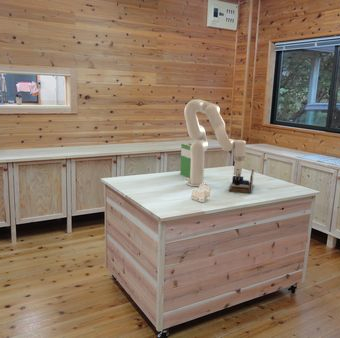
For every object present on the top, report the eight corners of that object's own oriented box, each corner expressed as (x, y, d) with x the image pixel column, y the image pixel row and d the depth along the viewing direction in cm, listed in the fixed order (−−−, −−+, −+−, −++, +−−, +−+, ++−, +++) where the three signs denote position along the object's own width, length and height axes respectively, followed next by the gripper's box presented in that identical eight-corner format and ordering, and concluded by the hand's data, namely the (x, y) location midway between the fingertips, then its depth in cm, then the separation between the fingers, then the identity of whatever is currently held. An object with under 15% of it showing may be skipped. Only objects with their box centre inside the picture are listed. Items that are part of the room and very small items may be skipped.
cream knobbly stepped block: (208, 204, 232) (214, 188, 233) (202, 202, 228) (208, 185, 229) (195, 199, 241) (201, 183, 242) (188, 197, 237) (194, 181, 238)
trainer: (231, 185, 260) (231, 177, 258) (232, 184, 264) (232, 175, 263) (249, 187, 257) (249, 178, 256) (249, 185, 262) (250, 177, 260)
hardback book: (180, 173, 303) (181, 144, 298) (188, 172, 307) (189, 143, 301) (192, 178, 288) (193, 147, 283) (200, 177, 292) (201, 147, 287)
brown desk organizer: (229, 191, 255) (230, 174, 253) (233, 183, 278) (234, 167, 275) (250, 193, 252) (252, 176, 249) (252, 185, 275) (253, 168, 272)
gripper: (234, 155, 266) (233, 180, 270) (232, 160, 250) (230, 186, 254) (245, 156, 264) (243, 181, 268) (243, 161, 248) (242, 187, 252)
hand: (237, 183), depth 261 cm, fingers closed on trainer, 5 cm apart
